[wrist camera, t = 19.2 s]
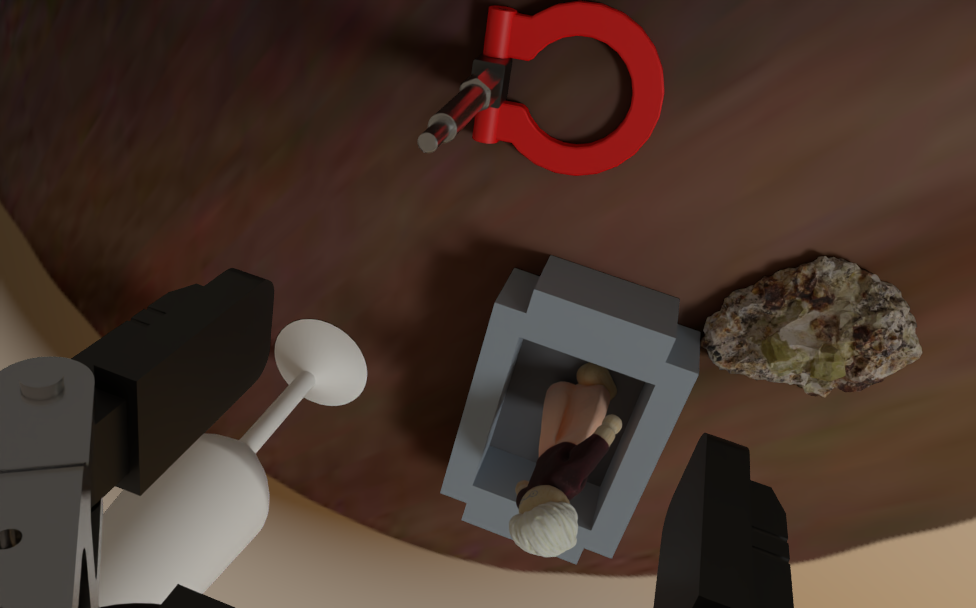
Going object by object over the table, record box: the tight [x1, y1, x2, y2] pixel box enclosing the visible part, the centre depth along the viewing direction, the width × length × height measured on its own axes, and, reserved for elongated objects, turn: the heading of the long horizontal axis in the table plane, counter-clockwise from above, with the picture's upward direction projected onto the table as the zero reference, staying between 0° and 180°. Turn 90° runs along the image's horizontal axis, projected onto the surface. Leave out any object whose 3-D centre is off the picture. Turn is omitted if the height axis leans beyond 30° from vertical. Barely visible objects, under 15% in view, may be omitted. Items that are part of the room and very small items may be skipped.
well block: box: [440, 255, 700, 564], centre depth 45 cm, size 11×17×4 cm, turn 167°
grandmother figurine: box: [509, 362, 622, 557], centre depth 40 cm, size 8×4×13 cm, turn 152°
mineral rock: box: [700, 256, 922, 398], centre depth 40 cm, size 11×4×8 cm
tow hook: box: [418, 1, 664, 176], centre depth 33 cm, size 8×13×9 cm
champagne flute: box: [99, 319, 367, 607], centre depth 40 cm, size 7×7×24 cm
